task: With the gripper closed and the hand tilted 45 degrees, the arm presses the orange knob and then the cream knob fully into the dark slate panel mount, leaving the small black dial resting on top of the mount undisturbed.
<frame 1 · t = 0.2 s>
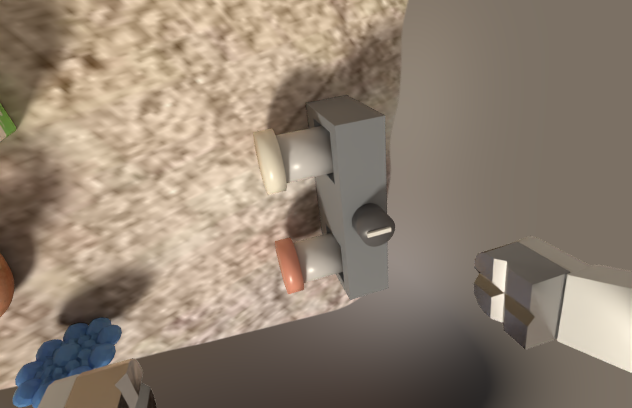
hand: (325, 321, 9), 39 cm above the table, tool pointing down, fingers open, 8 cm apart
cream knob: (295, 156, 42), point 6 cm above the table, slide at 0.0 cm
grapes: (85, 328, 51), on the table
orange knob: (310, 259, 50), point 6 cm above the table, slide at 0.0 cm
mount: (334, 182, 52), on the table
pot dial: (367, 218, 43), point 11 cm above the table, touching mount
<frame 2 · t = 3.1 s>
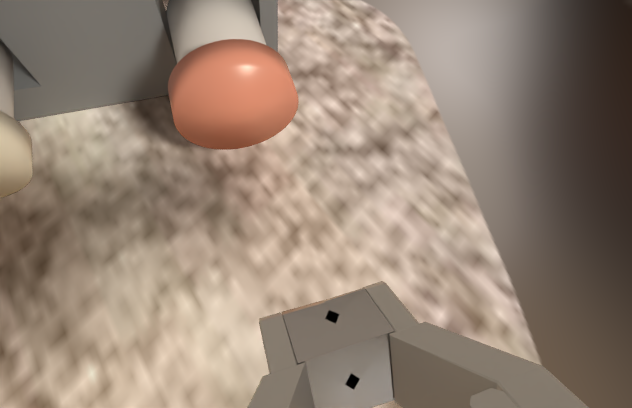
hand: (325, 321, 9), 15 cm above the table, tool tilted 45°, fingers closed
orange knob: (224, 62, 23), point 6 cm above the table, slide at 0.0 cm
mount: (123, 74, 29), on the table
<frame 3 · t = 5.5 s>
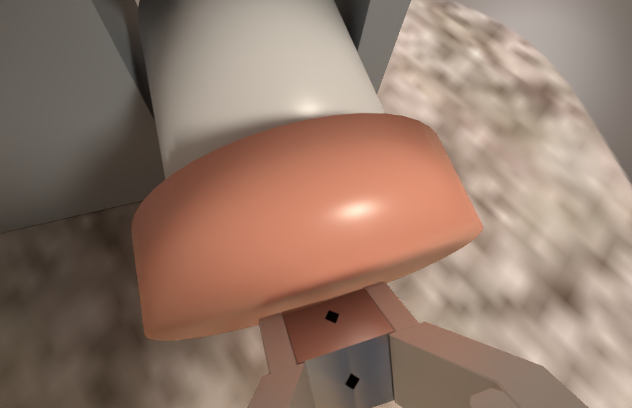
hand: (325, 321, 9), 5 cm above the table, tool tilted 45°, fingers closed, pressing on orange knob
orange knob: (275, 140, 10), point 6 cm above the table, slide at 1.2 cm, touching gripper
mount: (72, 156, 15), on the table
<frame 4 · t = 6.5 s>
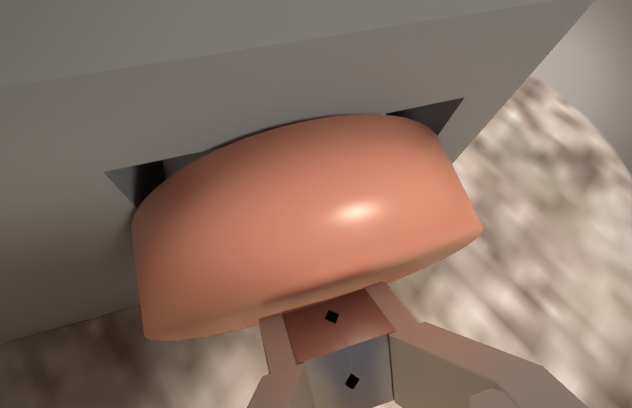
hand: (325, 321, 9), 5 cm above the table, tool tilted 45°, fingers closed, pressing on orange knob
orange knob: (275, 141, 10), point 6 cm above the table, slide at 5.3 cm, touching gripper
mount: (78, 248, 14), on the table
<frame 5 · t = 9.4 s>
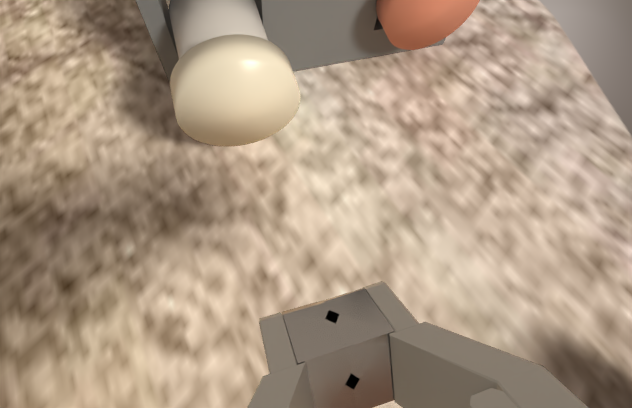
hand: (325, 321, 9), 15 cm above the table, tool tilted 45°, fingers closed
cream knob: (226, 59, 23), point 6 cm above the table, slide at 0.0 cm
mount: (308, 43, 32), on the table
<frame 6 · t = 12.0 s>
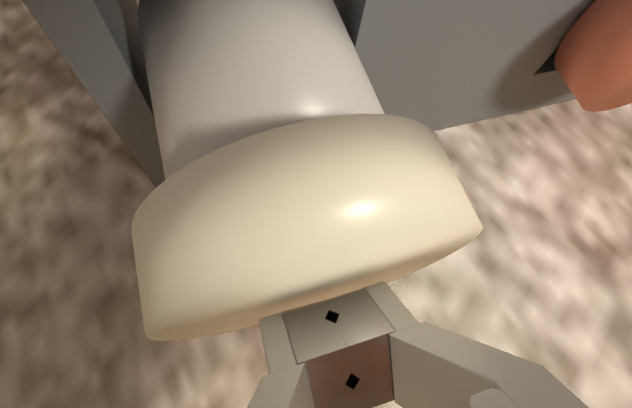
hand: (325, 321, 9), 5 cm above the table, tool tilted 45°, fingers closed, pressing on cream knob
cream knob: (275, 141, 10), point 6 cm above the table, slide at 1.0 cm, touching gripper
mount: (395, 89, 18), on the table
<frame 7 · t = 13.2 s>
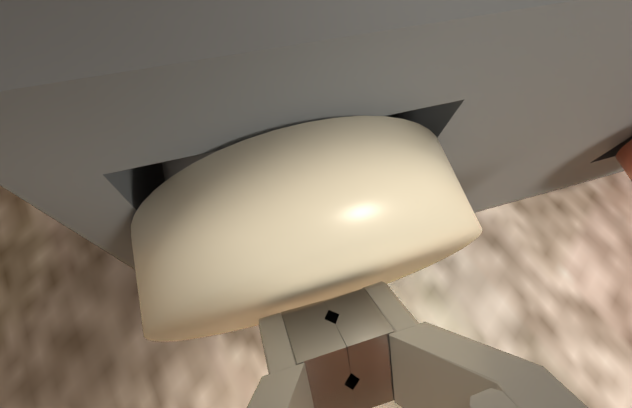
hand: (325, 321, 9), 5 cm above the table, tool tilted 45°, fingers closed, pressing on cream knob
cream knob: (275, 142, 10), point 6 cm above the table, slide at 5.4 cm, touching gripper
mount: (430, 163, 17), on the table
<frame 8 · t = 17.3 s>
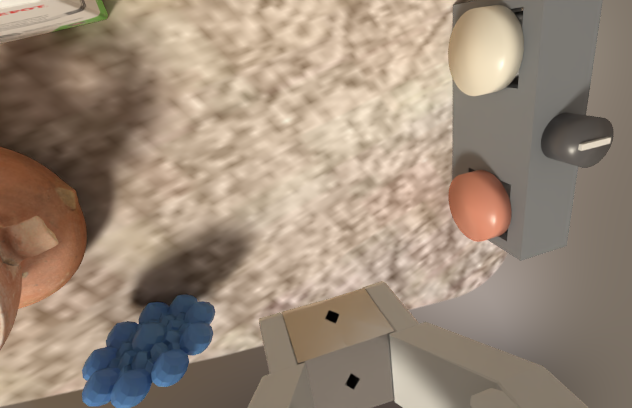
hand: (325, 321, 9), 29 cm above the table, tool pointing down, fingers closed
cream knob: (511, 47, 33), point 6 cm above the table, slide at 5.3 cm
grapes: (162, 311, 40), on the table
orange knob: (501, 198, 39), point 6 cm above the table, slide at 5.3 cm
mount: (474, 118, 42), on the table
pot dial: (560, 136, 32), point 11 cm above the table, touching mount
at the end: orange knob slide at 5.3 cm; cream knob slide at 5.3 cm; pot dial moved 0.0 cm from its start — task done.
